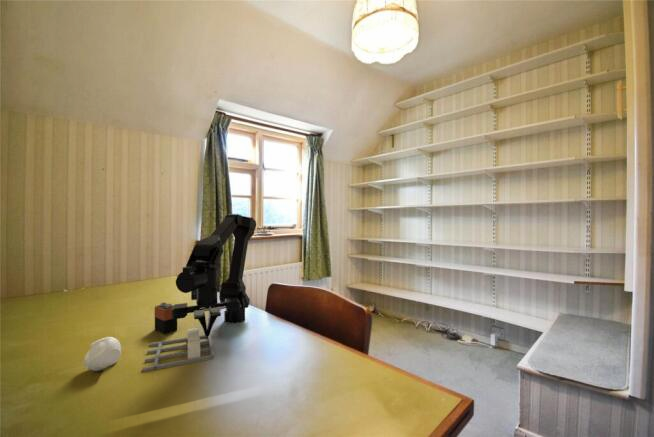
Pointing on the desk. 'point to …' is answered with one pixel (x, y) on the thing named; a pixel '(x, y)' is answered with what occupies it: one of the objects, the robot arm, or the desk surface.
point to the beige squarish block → (193, 338)
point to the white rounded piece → (103, 354)
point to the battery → (164, 319)
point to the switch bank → (176, 353)
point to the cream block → (193, 349)
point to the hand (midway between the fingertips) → (207, 336)
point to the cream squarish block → (193, 331)
